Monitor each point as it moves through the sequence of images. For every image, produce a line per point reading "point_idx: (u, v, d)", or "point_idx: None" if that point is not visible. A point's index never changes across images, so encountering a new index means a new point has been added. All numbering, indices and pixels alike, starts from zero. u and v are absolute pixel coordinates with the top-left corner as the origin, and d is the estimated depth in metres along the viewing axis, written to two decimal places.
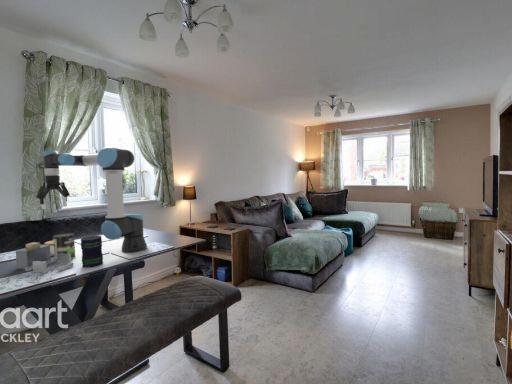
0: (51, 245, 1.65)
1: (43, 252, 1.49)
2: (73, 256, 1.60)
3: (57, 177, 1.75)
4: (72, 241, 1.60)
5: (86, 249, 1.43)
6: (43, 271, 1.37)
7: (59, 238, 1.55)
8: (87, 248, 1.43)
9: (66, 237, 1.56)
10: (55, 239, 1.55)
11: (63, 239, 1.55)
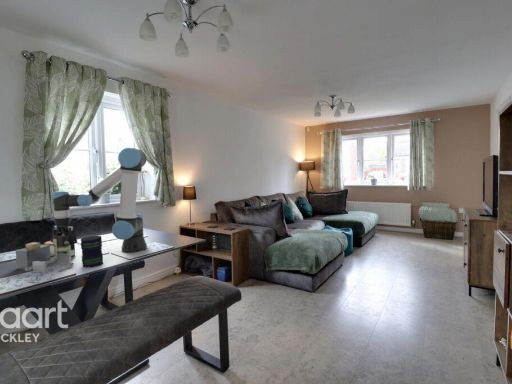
0: (51, 245, 1.65)
1: (43, 252, 1.49)
2: (73, 256, 1.60)
3: (57, 221, 1.55)
4: None
5: (86, 249, 1.43)
6: (43, 271, 1.37)
7: (59, 238, 1.55)
8: (87, 248, 1.43)
9: (66, 237, 1.56)
10: (55, 239, 1.55)
11: (63, 239, 1.55)
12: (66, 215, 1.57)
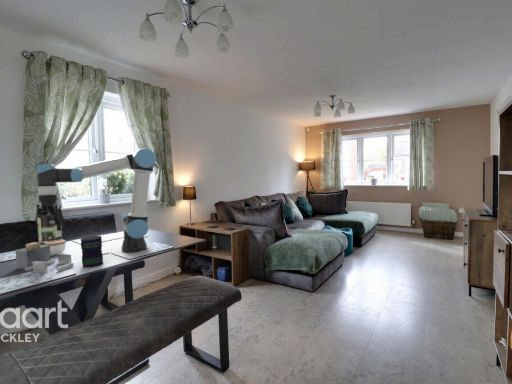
0: (51, 245, 1.65)
1: (43, 252, 1.49)
2: (60, 238, 1.43)
3: (41, 198, 1.38)
4: None
5: (86, 249, 1.43)
6: (43, 271, 1.37)
7: (44, 217, 1.38)
8: (87, 248, 1.43)
9: (51, 216, 1.39)
10: (39, 218, 1.38)
11: (48, 218, 1.38)
12: (52, 191, 1.40)
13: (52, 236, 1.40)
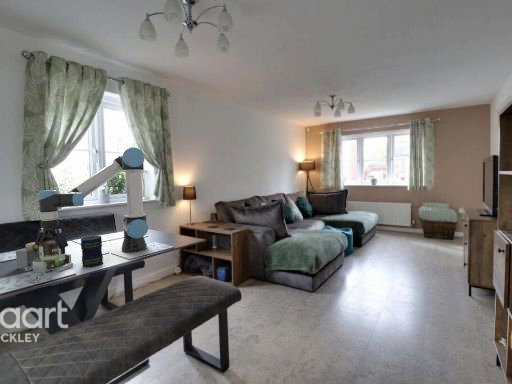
0: None
1: None
2: (62, 265, 1.44)
3: (43, 223, 1.39)
4: None
5: (86, 249, 1.43)
6: (43, 271, 1.37)
7: (46, 246, 1.39)
8: (87, 248, 1.43)
9: (54, 244, 1.40)
10: (41, 246, 1.39)
11: (50, 246, 1.40)
12: (54, 217, 1.41)
13: (54, 264, 1.41)
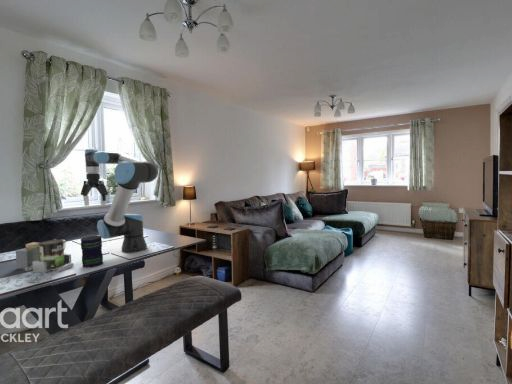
0: None
1: None
2: (62, 265, 1.44)
3: (88, 175, 1.73)
4: (61, 248, 1.44)
5: (86, 249, 1.43)
6: (43, 271, 1.37)
7: (46, 246, 1.39)
8: (87, 248, 1.43)
9: (54, 244, 1.40)
10: (41, 247, 1.39)
11: (50, 247, 1.39)
12: (96, 171, 1.75)
13: (54, 264, 1.41)
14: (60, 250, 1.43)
